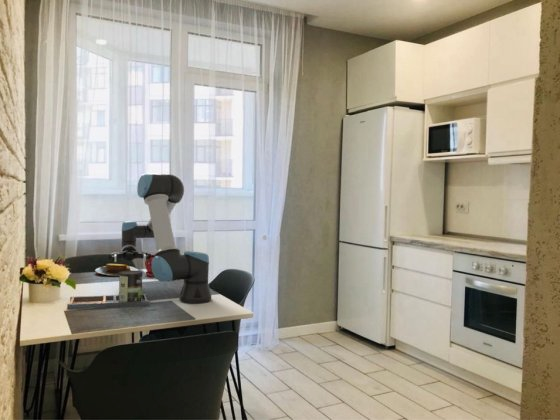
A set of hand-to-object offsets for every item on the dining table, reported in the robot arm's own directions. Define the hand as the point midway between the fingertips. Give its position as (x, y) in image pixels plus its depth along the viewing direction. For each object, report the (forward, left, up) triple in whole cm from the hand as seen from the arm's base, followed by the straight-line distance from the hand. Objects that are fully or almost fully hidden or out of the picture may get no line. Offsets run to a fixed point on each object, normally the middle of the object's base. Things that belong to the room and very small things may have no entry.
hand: (130, 258), depth 227 cm
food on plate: (+54, -43, -19) cm, 71 cm away
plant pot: (+31, -52, -19) cm, 63 cm away
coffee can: (-7, +7, -19) cm, 21 cm away
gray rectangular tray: (-1, +13, -19) cm, 23 cm away
